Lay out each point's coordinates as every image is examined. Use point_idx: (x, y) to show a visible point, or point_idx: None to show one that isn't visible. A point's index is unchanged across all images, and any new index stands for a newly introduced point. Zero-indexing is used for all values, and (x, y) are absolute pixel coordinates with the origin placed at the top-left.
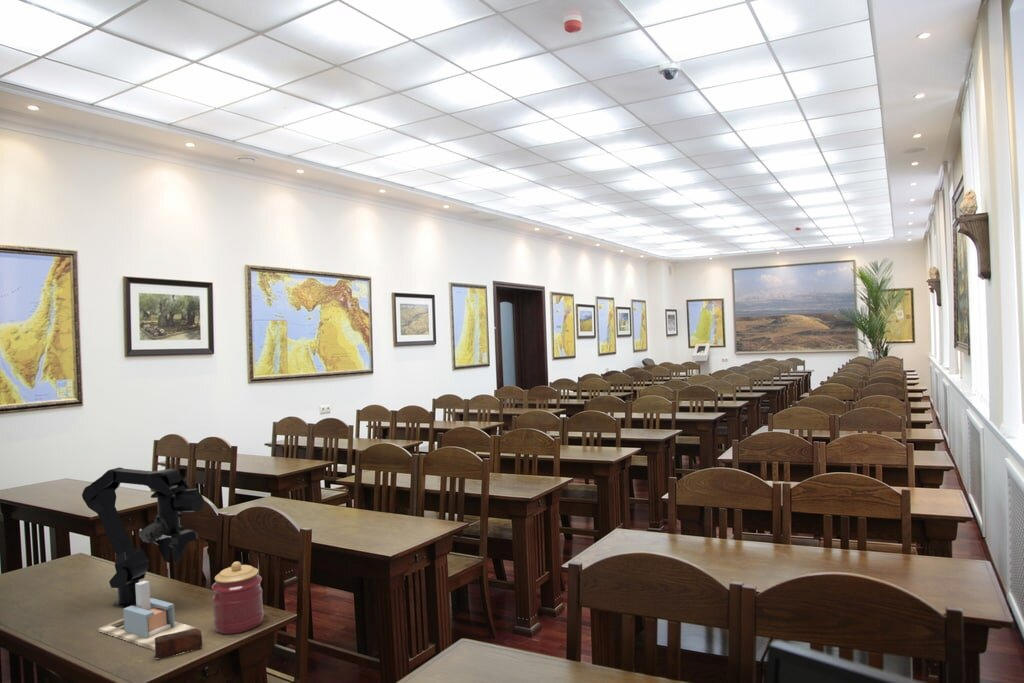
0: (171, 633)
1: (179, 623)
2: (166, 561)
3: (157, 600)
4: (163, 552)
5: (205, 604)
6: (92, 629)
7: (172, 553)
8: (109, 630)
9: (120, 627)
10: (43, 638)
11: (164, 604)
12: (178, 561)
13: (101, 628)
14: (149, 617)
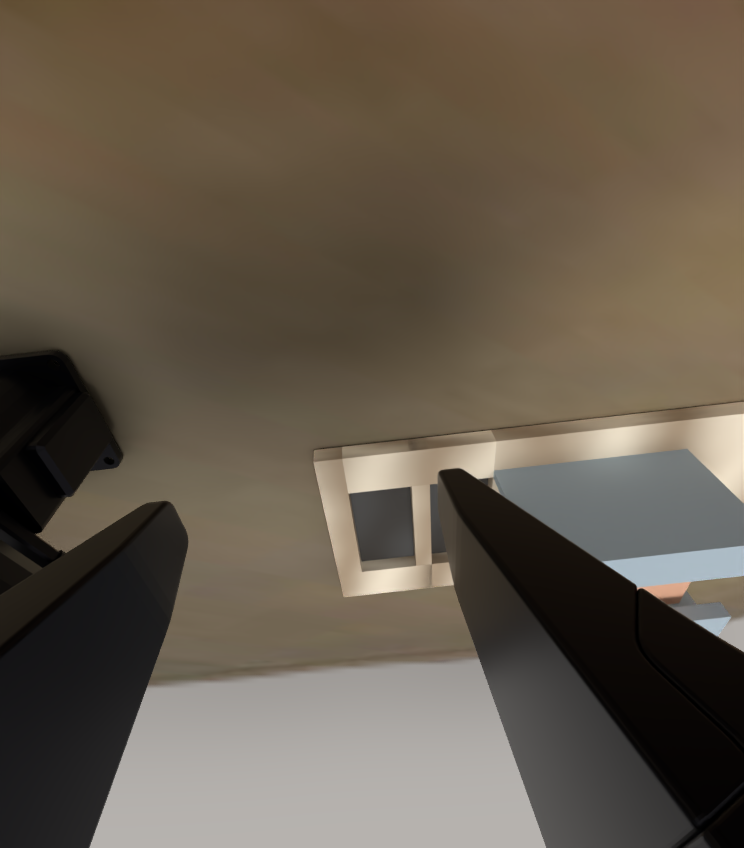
0: (726, 484)
1: (684, 424)
2: (181, 523)
3: (616, 566)
4: (119, 730)
5: (567, 129)
6: (294, 587)
7: (517, 736)
8: (413, 584)
9: (425, 559)
10: (229, 663)
11: (719, 567)
12: (475, 482)
13: (359, 592)
14: (679, 596)
